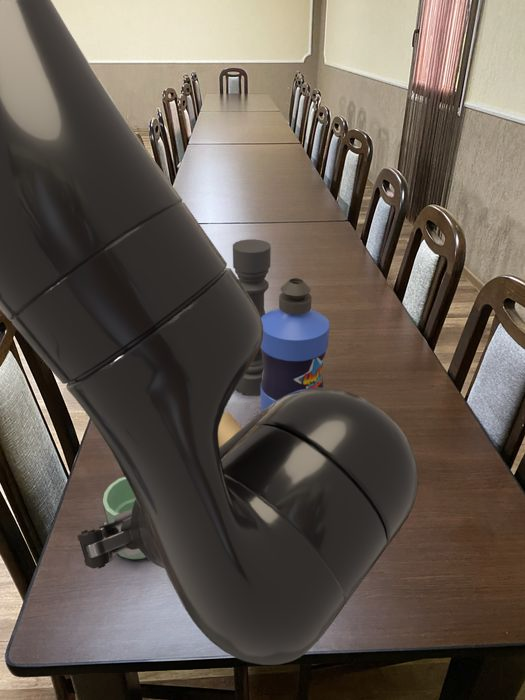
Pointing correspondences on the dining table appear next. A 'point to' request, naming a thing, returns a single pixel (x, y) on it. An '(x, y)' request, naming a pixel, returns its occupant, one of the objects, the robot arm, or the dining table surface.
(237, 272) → the candle holder
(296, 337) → the water bottle
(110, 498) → the green cup
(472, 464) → the dining table surface
